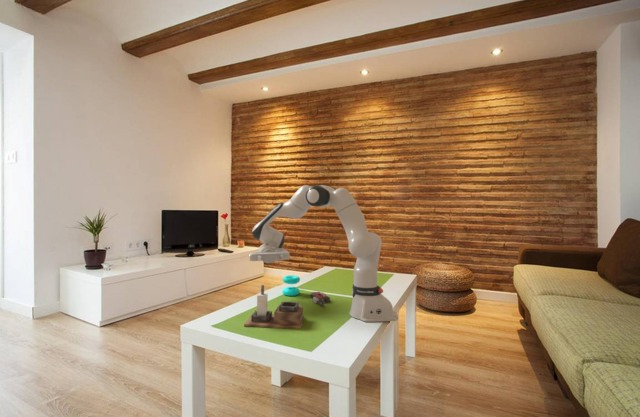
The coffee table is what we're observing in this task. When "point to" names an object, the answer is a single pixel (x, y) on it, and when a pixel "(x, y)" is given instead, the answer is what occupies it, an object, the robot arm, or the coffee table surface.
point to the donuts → (291, 290)
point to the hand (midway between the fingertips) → (271, 258)
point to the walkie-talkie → (320, 298)
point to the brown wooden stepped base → (279, 317)
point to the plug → (262, 303)
